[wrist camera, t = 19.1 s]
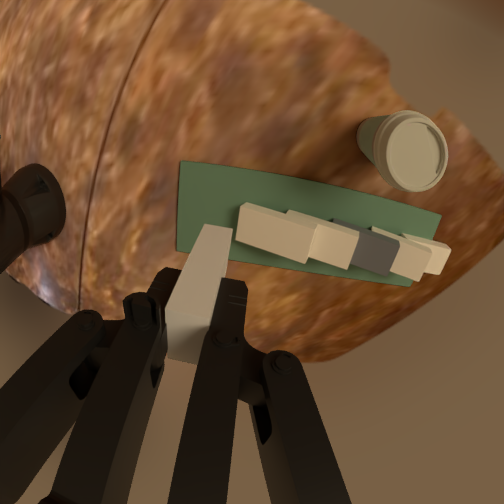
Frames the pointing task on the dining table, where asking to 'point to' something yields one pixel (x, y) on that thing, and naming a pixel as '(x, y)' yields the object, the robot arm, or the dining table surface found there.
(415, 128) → the coffee cup
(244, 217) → the domino
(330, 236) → the domino
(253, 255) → the mat
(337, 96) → the dining table surface
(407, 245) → the domino
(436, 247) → the domino
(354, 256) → the slate domino
